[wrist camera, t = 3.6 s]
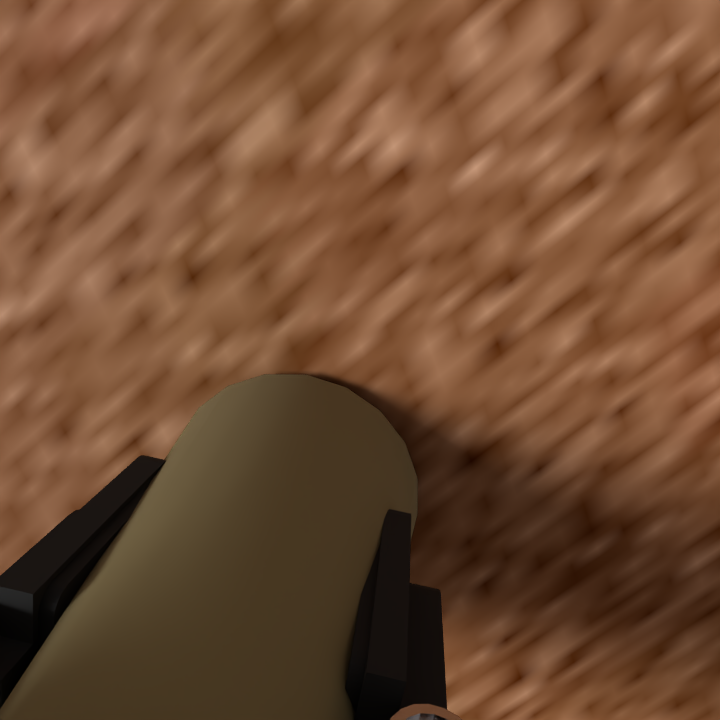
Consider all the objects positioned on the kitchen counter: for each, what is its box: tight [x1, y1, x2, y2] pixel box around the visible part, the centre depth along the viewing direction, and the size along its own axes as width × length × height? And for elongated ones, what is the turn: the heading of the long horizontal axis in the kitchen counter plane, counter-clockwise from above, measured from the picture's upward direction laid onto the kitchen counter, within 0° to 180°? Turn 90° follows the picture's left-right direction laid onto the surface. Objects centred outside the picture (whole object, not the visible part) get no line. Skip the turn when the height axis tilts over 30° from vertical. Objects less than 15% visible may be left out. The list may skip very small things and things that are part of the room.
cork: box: [0, 374, 418, 720], centre depth 8 cm, size 6×6×11 cm
